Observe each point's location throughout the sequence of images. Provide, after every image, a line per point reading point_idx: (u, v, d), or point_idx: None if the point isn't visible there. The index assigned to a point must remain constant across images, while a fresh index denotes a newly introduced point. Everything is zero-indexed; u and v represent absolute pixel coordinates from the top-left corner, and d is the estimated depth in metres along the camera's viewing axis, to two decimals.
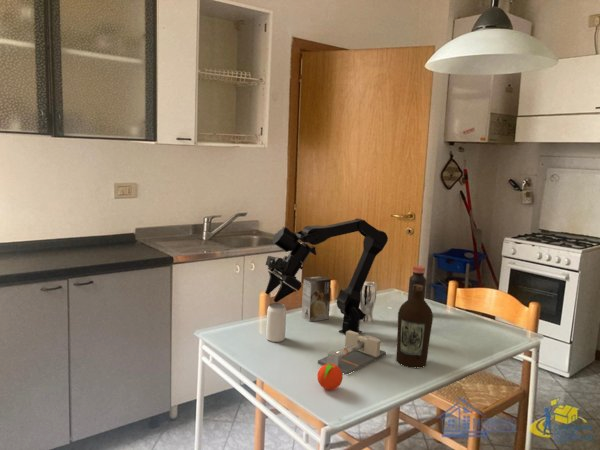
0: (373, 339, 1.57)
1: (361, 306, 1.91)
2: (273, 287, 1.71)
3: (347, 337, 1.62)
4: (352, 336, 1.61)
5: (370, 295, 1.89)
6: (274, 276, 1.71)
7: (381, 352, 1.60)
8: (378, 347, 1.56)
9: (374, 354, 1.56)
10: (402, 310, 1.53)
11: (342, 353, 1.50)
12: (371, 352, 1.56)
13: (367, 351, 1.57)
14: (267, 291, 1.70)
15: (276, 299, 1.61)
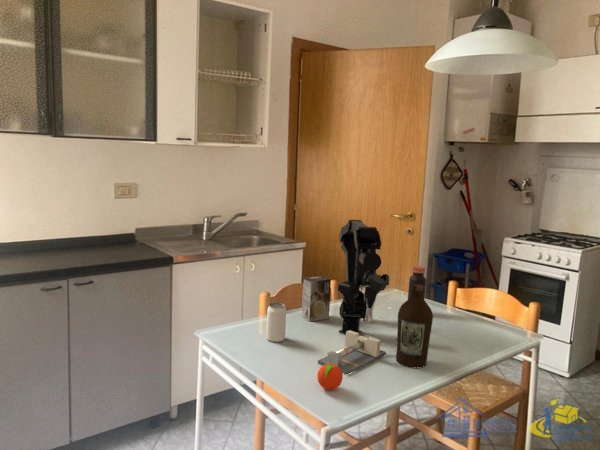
0: (373, 339, 1.57)
1: None
2: None
3: (347, 337, 1.62)
4: (352, 336, 1.61)
5: None
6: None
7: (381, 352, 1.60)
8: (378, 347, 1.56)
9: (374, 354, 1.56)
10: (402, 310, 1.53)
11: (342, 353, 1.50)
12: (371, 352, 1.56)
13: (367, 351, 1.57)
14: None
15: None
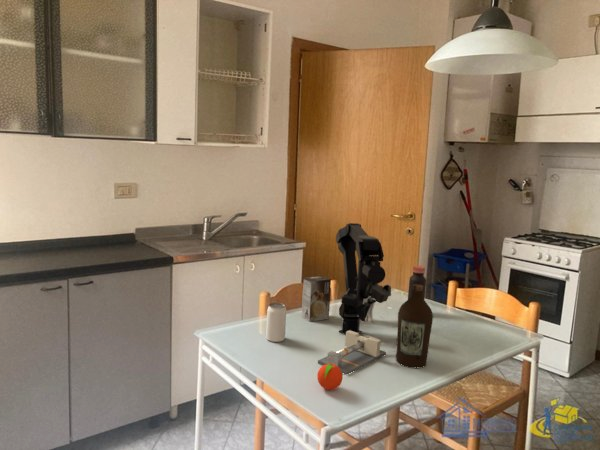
0: (373, 339, 1.57)
1: None
2: None
3: (347, 337, 1.62)
4: (352, 336, 1.61)
5: None
6: None
7: (381, 352, 1.60)
8: (378, 347, 1.56)
9: (374, 354, 1.56)
10: (402, 310, 1.53)
11: (342, 353, 1.50)
12: (371, 352, 1.56)
13: (367, 351, 1.57)
14: None
15: None
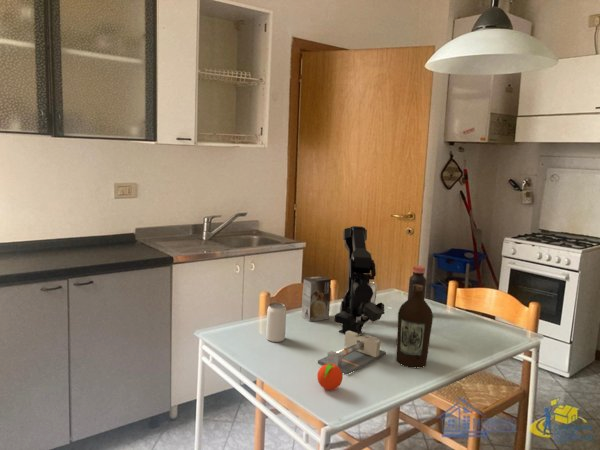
0: (373, 339, 1.56)
1: None
2: None
3: (346, 337, 1.62)
4: (352, 337, 1.60)
5: None
6: None
7: (381, 352, 1.60)
8: (378, 347, 1.55)
9: (374, 354, 1.55)
10: (402, 310, 1.53)
11: (342, 353, 1.50)
12: (370, 352, 1.56)
13: (367, 351, 1.57)
14: None
15: None
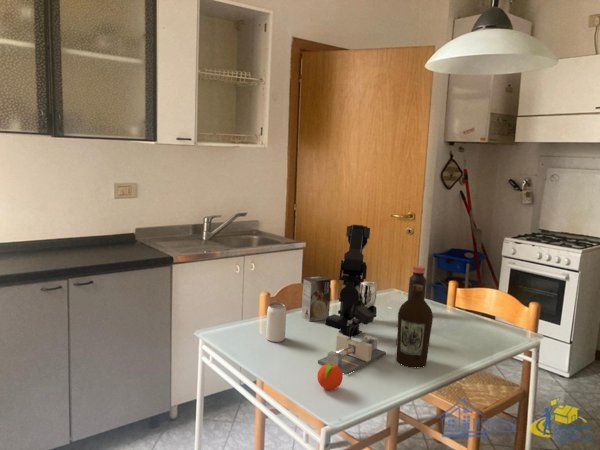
0: (364, 343, 1.53)
1: None
2: None
3: (338, 341, 1.58)
4: (343, 340, 1.57)
5: (370, 295, 1.89)
6: None
7: (381, 352, 1.60)
8: (369, 351, 1.52)
9: (365, 358, 1.52)
10: (402, 310, 1.53)
11: (342, 353, 1.50)
12: (362, 356, 1.53)
13: (358, 355, 1.53)
14: None
15: None
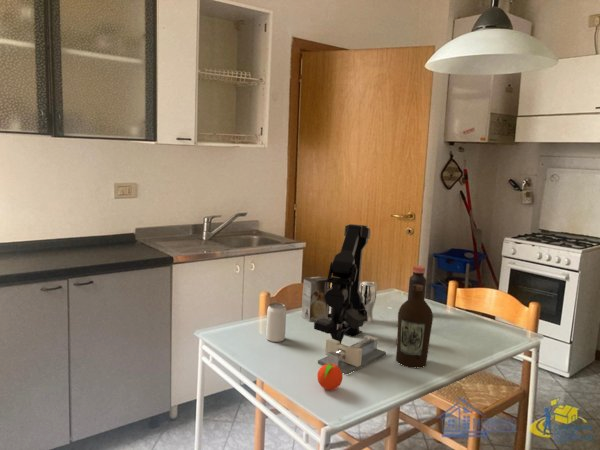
0: (354, 348, 1.49)
1: None
2: None
3: (327, 345, 1.54)
4: (333, 345, 1.53)
5: (370, 295, 1.89)
6: None
7: (381, 352, 1.60)
8: (359, 356, 1.48)
9: (355, 364, 1.48)
10: (402, 310, 1.53)
11: (342, 353, 1.50)
12: (352, 361, 1.48)
13: (348, 360, 1.49)
14: None
15: None
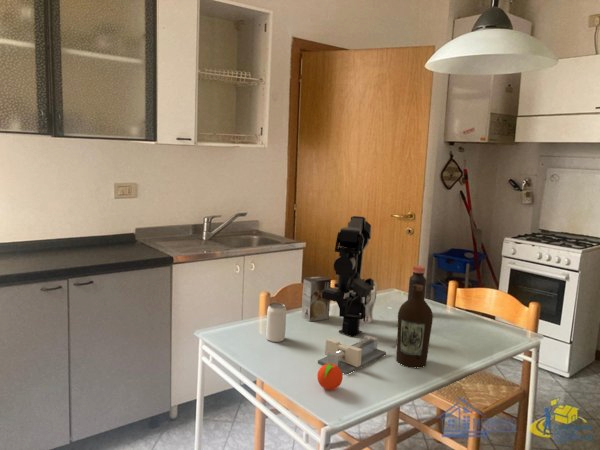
0: (354, 348, 1.48)
1: None
2: None
3: (327, 345, 1.54)
4: (332, 345, 1.52)
5: (370, 295, 1.89)
6: None
7: (381, 352, 1.60)
8: (359, 356, 1.47)
9: (355, 364, 1.47)
10: (402, 310, 1.53)
11: (342, 353, 1.50)
12: (351, 361, 1.48)
13: (348, 360, 1.49)
14: None
15: None
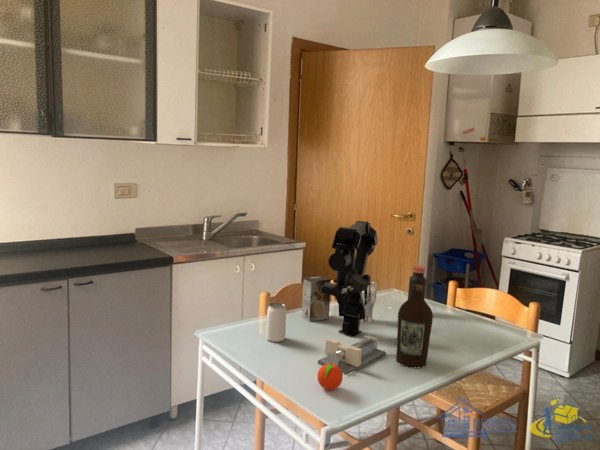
0: (354, 348, 1.48)
1: None
2: None
3: (327, 345, 1.54)
4: (332, 345, 1.52)
5: (370, 295, 1.89)
6: None
7: (381, 352, 1.60)
8: (359, 356, 1.47)
9: (355, 364, 1.47)
10: (402, 310, 1.53)
11: (342, 353, 1.50)
12: (351, 361, 1.48)
13: (348, 360, 1.49)
14: None
15: None
